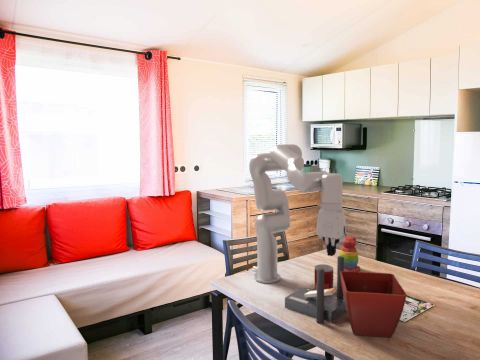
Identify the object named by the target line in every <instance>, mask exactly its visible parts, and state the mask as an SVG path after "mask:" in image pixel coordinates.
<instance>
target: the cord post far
mask: <svg viewBox="0 0 480 360" xmlns="http://www.w3.org/2000/svg"><path fill="white" fill-rule="evenodd" d="M336 266H337V268H336V269H337V270H336V271H337V272H336V297H337V298H341V299H344V296H343V290H342V284H341V275H340V272H341V271H344V257H342V256H339V255H338V256H337V263H336Z"/></svg>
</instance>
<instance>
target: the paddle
mask: <svg viewBox="0 0 480 360" xmlns="http://www.w3.org/2000/svg"><path fill="white" fill-rule="evenodd" d="M335 293H337V288H336V287H333V288H330V289H325V290H324V296H326V295H330V296H333V295H334V294H335ZM304 296H305V297H316V296H317V290H316V291H315V290H312V291H309V292H307V293H306V294H304Z"/></svg>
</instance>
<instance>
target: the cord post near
mask: <svg viewBox="0 0 480 360" xmlns="http://www.w3.org/2000/svg"><path fill="white" fill-rule="evenodd" d="M315 319H316V320H315V321H316V324H318V325H323V324H324V322H325V321H324V269H323V268H318V269H317V311H316V318H315Z"/></svg>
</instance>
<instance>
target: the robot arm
mask: <svg viewBox="0 0 480 360" xmlns="http://www.w3.org/2000/svg"><path fill="white" fill-rule="evenodd" d="M248 164H249V165H248V166H249V167H248V168H249V174H250V177H251V179H252V185H253V192H254V193H253V194H254V199H255V200H254V201H255V207H256V209H258V211H262V212H263V211H264V212H266V211H275V212H269V213H268V212H267V213H263V214H260V215H258V216H257V217H256V218H255V221H254V227H255V233H256V243H257V245H256V246H257V247H256V248H257V249H256V250H257V254H256V255H257V259H256V260H257V262H256V263H257V264H256V265H257V266H256V265H253V266H252V268H251V272H254V273H255V275H254V277H253V279H254V280H255V281H256V282H259V283H262V284H274V283H277V282H279V281H280V280H282V279H281V278H282V277H281V275H280V274H279V273H278V241H277V239H276V238H275V237H276V236H274V234H276V233H281V232H285V231H288V230H289V229H290V227H291V214H290V213H291V212H290V206H289V205H290V204H289V199H288V196H287V194H286V192H285V191H283V190H282V189H273V187H272V180H271V178H270V176H269V175H268V174H267V173H266V172H277V171H279V172H280V171H285V172H286V176H287V179H288V182H289V183H290V184H291V186H293V187H294V188H295V189H297V190H298V191H300V192H301V193H302V192H303V193H313V192H315V193H316V192H321V198H320V199H321V201H320V202H318V205H317V206H318V207H320V209H319V210H318V212H317V213H318V214H317V219H316V236H317V238H318V239H320V240H323V241H324V243H325V244H324V245H326V253H327V256H329V257H333V256H335V255H336V254H337V245H338V244H339V243H342V242H344V241H346V239H345V236H347V222H346V216H345V211H344V210H343V176H342V174H340V173H334V172H333V173H332V172H327V171H311V172H310V171H309V172H308V171H307V172H304V171H303V169H304V165H305V160H304V158H303V152H302V149H301V148H300V146H298V145H297V144H294V143H293V144H292V143H291V144H276V145H274V146H272V148H271V149H270V151H269V152H267V153H266V152H265V153H258V154H255V155H253V156H252V157H251V158H250V160H249V163H248Z"/></svg>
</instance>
